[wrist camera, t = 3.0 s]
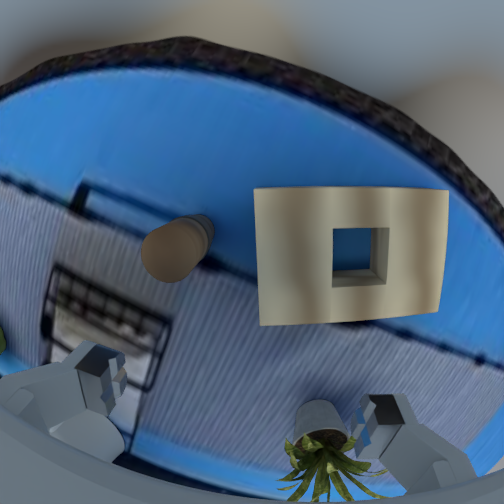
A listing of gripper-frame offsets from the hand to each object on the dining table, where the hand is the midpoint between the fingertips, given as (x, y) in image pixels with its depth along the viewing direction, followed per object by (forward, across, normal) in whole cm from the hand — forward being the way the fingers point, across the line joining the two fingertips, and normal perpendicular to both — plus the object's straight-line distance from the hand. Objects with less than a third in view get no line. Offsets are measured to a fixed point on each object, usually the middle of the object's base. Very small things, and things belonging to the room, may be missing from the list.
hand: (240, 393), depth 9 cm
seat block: (+22, +8, +1) cm, 24 cm away
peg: (+22, -7, 0) cm, 23 cm away
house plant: (+22, +12, -21) cm, 32 cm away
